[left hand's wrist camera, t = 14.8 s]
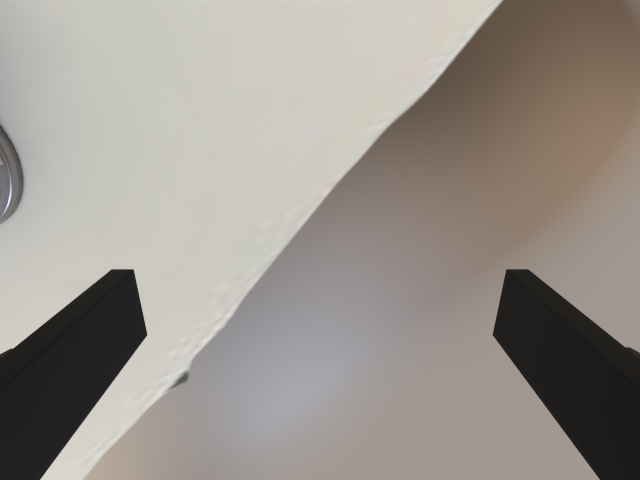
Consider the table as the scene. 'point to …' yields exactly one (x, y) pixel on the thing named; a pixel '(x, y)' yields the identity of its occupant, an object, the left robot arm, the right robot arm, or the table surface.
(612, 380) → the left robot arm
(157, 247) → the table surface
